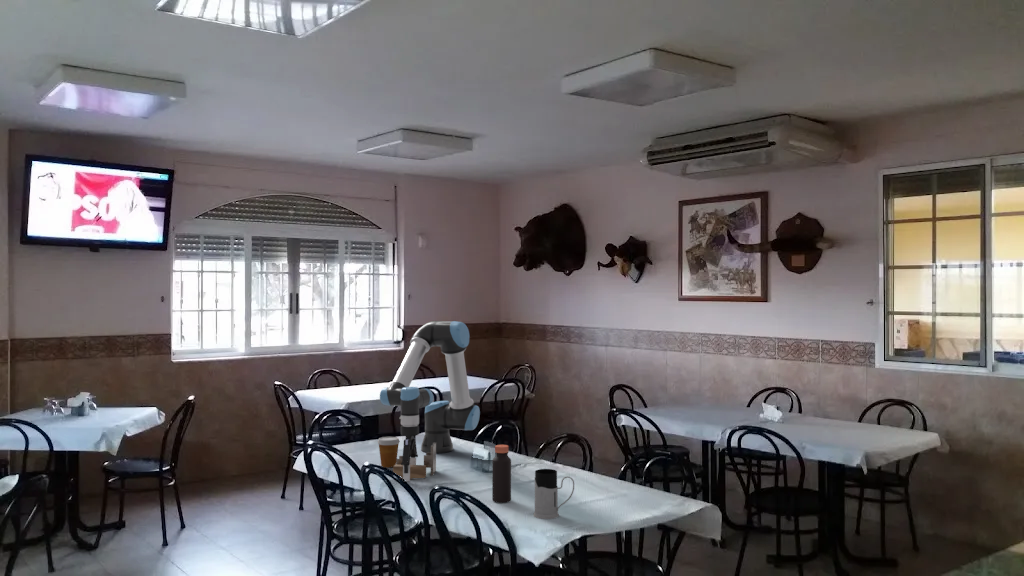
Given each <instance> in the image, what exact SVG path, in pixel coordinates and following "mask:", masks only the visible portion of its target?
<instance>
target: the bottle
mask: <svg viewBox="0 0 1024 576" xmlns="http://www.w3.org/2000/svg"><path fill="white" fill-rule="evenodd" d="M494 452H495V456H494V458H492V465H491V466H492V481H491V482H492V492H491V493H492V497H491V498H492V501H493V502H494V503H496V504H505V503H510V501H511V500H512V459H511V458H510V457H509V455H508V454H509V445H508V444H497V445H495V446H494Z"/></svg>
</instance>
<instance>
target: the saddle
mask: <svg viewBox="0 0 1024 576" xmlns="http://www.w3.org/2000/svg"><path fill="white" fill-rule="evenodd" d="M402 458H403V455H399V456H398V458H397V459H396V465H401V463H402Z"/></svg>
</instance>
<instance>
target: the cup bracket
mask: <svg viewBox="0 0 1024 576" xmlns="http://www.w3.org/2000/svg"><path fill="white" fill-rule="evenodd" d="M423 465H426V469H427V468H428V469H430V476H434V475H435V473H436V472H437V453H436V443H433V444H432V445H431V452H425V455H423ZM435 471H436V472H435ZM433 474H434V475H433Z"/></svg>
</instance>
